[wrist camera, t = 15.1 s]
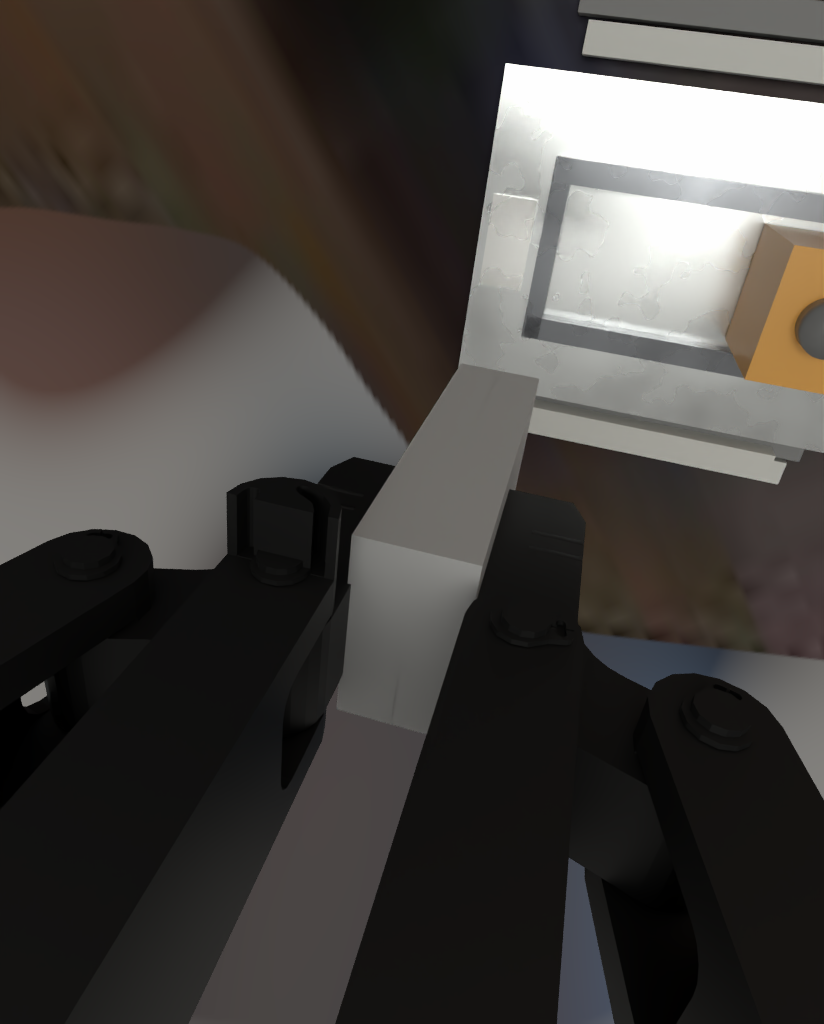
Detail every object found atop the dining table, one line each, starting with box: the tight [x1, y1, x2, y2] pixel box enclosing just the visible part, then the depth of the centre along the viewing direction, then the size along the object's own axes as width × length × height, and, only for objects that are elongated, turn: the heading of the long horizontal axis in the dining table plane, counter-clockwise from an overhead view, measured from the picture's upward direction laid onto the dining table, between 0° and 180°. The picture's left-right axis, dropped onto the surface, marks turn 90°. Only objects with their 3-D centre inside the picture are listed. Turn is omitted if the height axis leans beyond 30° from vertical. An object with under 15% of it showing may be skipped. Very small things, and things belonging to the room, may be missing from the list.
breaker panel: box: [458, 63, 824, 453], centre depth 33 cm, size 20×14×3 cm
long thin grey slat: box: [528, 396, 804, 484], centre depth 37 cm, size 14×3×2 cm, turn 83°
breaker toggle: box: [725, 223, 824, 394], centre depth 28 cm, size 4×5×7 cm
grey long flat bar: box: [578, 0, 824, 86], centre depth 29 cm, size 14×3×1 cm, turn 83°
